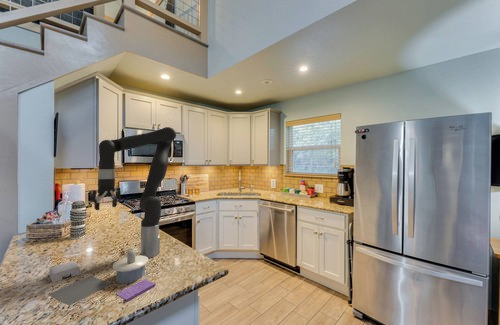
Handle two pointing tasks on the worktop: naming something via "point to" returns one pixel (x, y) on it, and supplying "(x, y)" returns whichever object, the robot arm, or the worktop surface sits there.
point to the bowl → (130, 275)
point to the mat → (79, 290)
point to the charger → (63, 271)
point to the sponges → (136, 290)
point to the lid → (130, 262)
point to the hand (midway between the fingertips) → (106, 208)
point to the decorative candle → (77, 220)
